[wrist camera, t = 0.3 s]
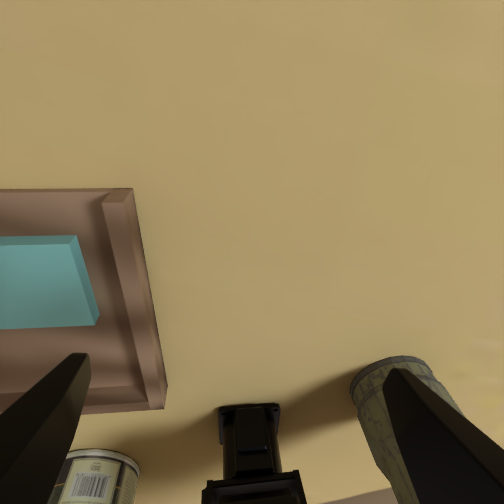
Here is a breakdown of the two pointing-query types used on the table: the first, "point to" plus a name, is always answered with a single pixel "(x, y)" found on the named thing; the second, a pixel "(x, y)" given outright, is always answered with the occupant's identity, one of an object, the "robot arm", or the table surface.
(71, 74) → the table surface
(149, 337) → the brown flat tray
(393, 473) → the thermos
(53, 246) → the cover plate
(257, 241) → the table surface
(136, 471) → the coffee can
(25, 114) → the table surface
